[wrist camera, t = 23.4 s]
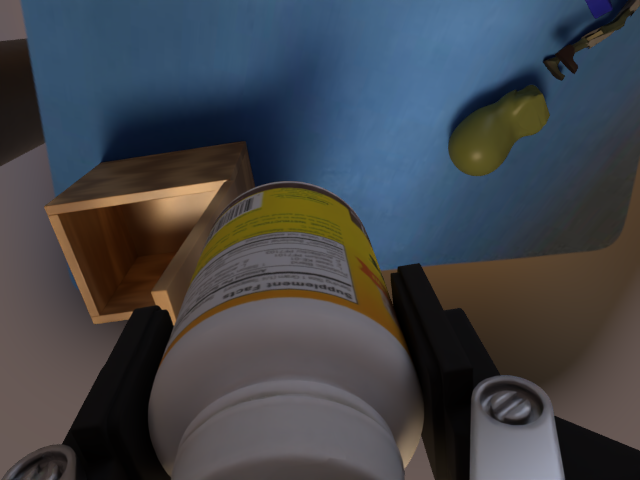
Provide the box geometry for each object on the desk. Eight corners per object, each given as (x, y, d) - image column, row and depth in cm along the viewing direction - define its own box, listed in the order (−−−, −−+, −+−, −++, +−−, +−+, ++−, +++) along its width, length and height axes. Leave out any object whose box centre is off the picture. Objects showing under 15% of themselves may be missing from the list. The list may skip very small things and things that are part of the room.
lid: (208, 457, 27) (301, 451, 27) (150, 291, 22) (263, 280, 22) (253, 304, 41) (316, 298, 40) (224, 181, 36) (294, 172, 35)
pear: (450, 170, 49) (529, 105, 48) (481, 196, 46) (568, 126, 44) (429, 134, 46) (514, 63, 44) (461, 159, 42) (555, 82, 41)
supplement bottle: (353, 324, 18) (418, 648, 9) (204, 309, 17) (107, 642, 8) (383, 184, 16) (515, 429, 7) (213, 163, 15) (91, 398, 6)
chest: (135, 260, 52) (93, 324, 42) (100, 162, 47) (43, 206, 37) (266, 241, 52) (258, 301, 41) (245, 140, 47) (230, 178, 36)
